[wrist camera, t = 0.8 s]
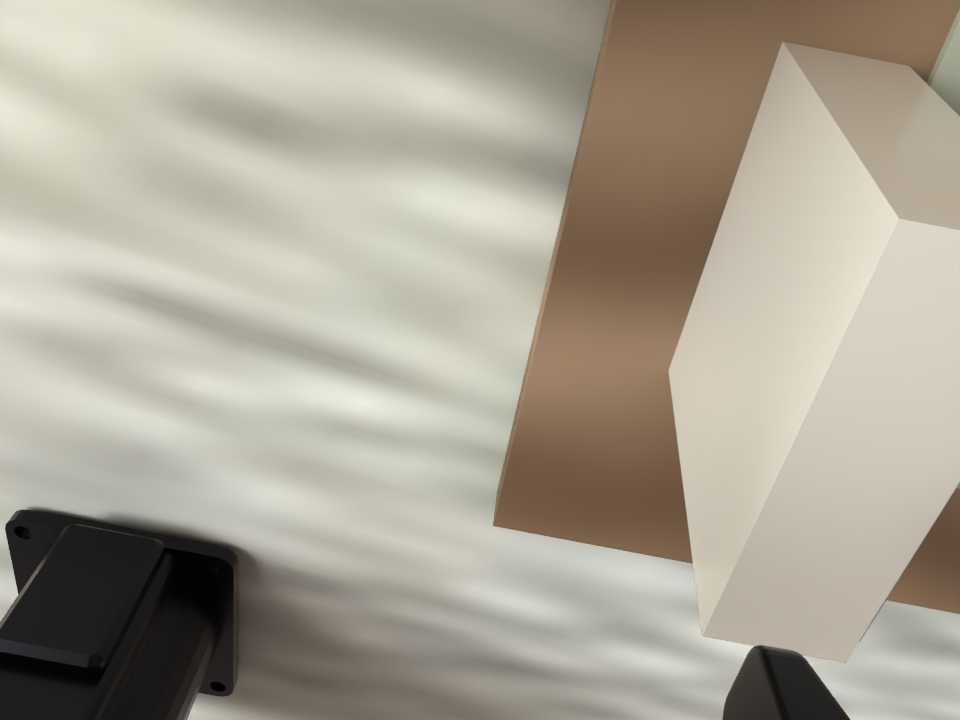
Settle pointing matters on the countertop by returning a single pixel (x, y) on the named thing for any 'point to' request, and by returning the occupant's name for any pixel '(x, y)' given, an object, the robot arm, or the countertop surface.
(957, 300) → the glazed tile
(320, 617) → the countertop surface
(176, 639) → the robot arm
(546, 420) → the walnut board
